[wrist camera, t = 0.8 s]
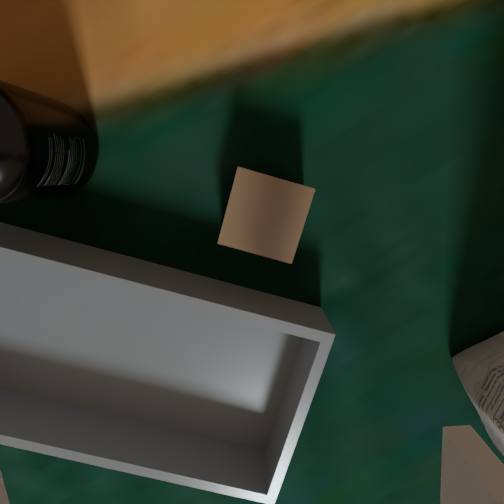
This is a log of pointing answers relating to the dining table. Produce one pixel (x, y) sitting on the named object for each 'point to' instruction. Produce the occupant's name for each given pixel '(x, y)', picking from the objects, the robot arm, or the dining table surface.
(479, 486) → the robot arm
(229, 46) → the dining table surface
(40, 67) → the dining table surface
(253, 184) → the walnut cube
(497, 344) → the juice carton
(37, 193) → the supplement bottle
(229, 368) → the tote
